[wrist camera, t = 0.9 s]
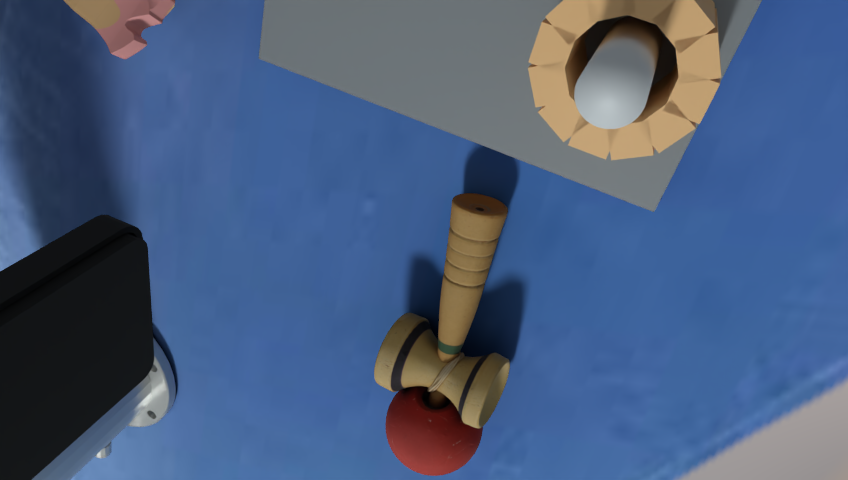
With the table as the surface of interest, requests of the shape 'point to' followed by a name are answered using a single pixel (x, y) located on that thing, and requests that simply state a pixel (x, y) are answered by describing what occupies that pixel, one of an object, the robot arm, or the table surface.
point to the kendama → (446, 354)
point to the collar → (668, 99)
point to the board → (492, 74)
